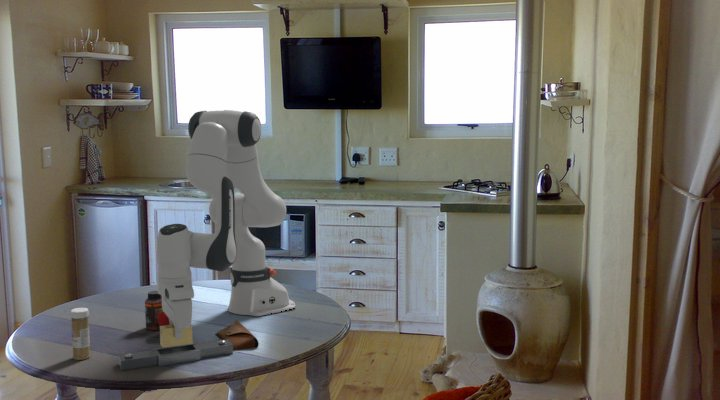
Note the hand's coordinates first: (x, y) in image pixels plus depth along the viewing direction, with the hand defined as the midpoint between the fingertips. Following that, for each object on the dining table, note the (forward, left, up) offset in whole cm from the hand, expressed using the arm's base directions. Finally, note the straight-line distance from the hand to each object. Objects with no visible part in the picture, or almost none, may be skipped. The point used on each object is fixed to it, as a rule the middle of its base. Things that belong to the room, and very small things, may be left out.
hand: (176, 336), depth 193 cm
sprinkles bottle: (+23, -12, -7) cm, 27 cm away
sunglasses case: (-19, -8, -7) cm, 21 cm away
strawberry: (-2, -22, -7) cm, 23 cm away
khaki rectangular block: (0, 0, -2) cm, 2 cm away
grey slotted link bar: (0, 0, -6) cm, 6 cm away
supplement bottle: (0, -30, -7) cm, 31 cm away
